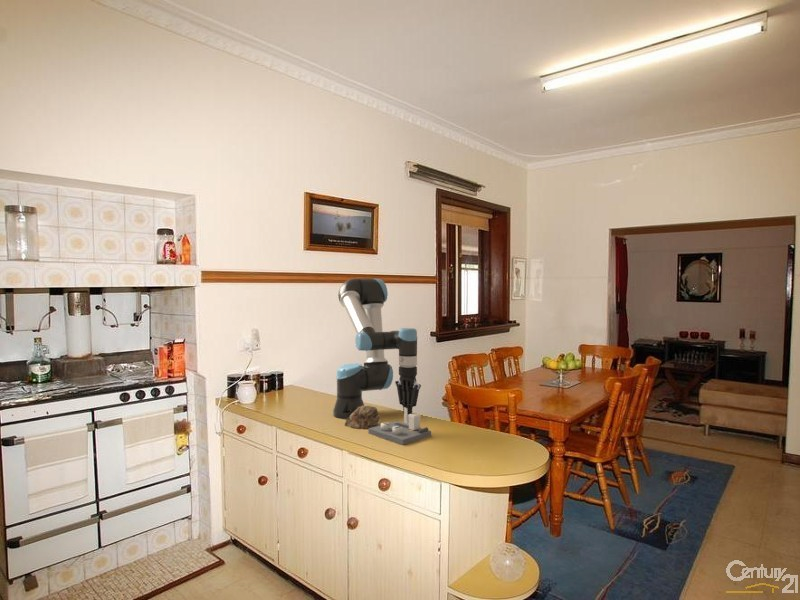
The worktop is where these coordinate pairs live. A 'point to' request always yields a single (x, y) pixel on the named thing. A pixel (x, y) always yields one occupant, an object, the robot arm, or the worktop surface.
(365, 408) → the rock
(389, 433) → the console
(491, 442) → the worktop surface
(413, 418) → the fader tab
